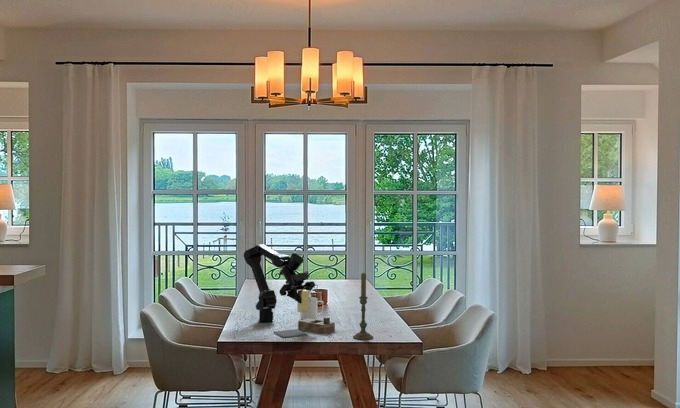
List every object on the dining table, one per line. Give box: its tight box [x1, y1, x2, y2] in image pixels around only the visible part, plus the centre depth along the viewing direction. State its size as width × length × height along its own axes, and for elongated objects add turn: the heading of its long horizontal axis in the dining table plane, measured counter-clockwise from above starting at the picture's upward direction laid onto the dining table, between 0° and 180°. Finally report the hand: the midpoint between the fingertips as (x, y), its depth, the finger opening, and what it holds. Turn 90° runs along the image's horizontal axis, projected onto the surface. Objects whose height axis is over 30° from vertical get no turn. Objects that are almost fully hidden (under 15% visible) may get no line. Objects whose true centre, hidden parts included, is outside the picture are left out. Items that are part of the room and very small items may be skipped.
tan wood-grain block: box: [296, 290, 311, 313], centre depth 292 cm, size 3×5×10 cm, turn 134°
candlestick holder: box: [352, 271, 374, 341], centre depth 277 cm, size 9×9×30 cm
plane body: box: [297, 316, 336, 335], centre depth 293 cm, size 16×8×6 cm, turn 54°
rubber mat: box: [273, 328, 308, 339], centre depth 284 cm, size 12×12×1 cm
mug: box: [299, 296, 324, 320], centre depth 318 cm, size 12×9×11 cm
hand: (305, 302), depth 291 cm, fingers closed on tan wood-grain block, 5 cm apart
